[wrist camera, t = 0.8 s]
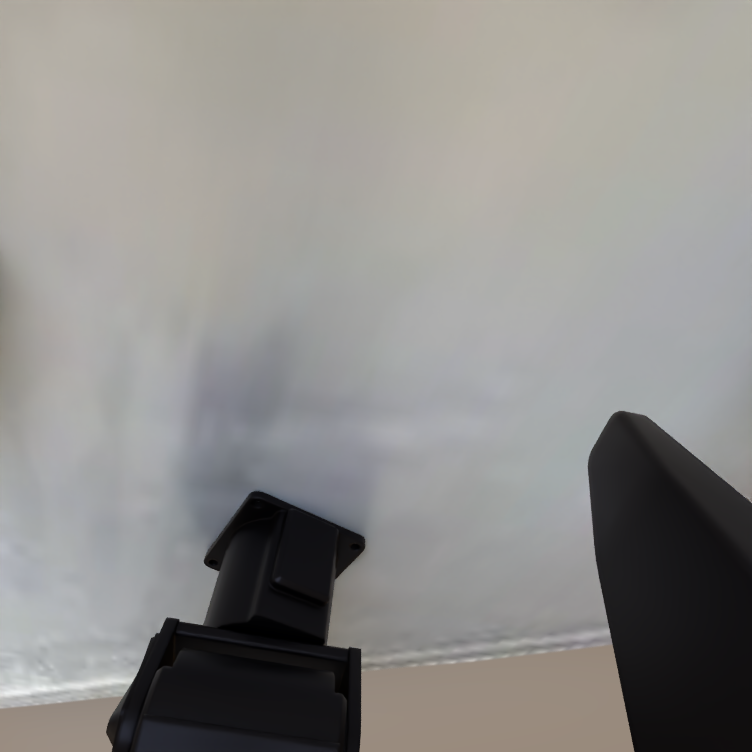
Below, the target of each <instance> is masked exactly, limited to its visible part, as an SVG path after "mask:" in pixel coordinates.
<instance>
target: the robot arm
mask: <svg viewBox="0 0 752 752" xmlns="http://www.w3.org/2000/svg"><path fill="white" fill-rule="evenodd" d="M588 475H589V487H590V499H591V511H592V523H593V535H594V546H595V555H596V562H597V568H598V574H599V579H600V584H601V589H602V594H603V599H604V604H605V609H606V614H607V619H608V623H609V628H610V633H611V638H612V643H613V648H614V653H615V658H616V663H617V668H618V673H619V678H620V683H621V688H622V692H623V698H624V702H625V707H626V712H627V717H628V722H629V727H630V732H631V737H632V742H633V747H634V751H635V752H752V503H751V502H750V501H748V500H747V499H746V498H745V497H744V496H742V495H741V494H740V493H739V492H737V491H736V490H735V489H734V488H733V487H731V486H730V485H729V484H728V483H727V482H725V481H724V480H723V479H722V478H721V477H719V476H718V475H717V474H716V473H715V472H713V471H712V470H711V469H710V468H709V467H707V466H706V465H705V464H704V463H702V462H701V461H700V460H699V459H698V458H696V457H695V456H694V455H693V454H692V453H690V452H689V451H688V450H687V449H686V448H684V447H683V446H682V445H681V444H680V443H678V442H677V441H676V440H675V439H674V438H672V437H671V436H670V435H669V434H667V433H666V432H665V431H664V430H663V429H661V428H660V427H659V426H658V425H657V424H655V423H654V422H653V421H652V420H651V419H649V418H648V417H646V416H644V415H640V414H635V413H630V412H625V411H618V412H616V413H614V414H613V415H612V416H611V418H610V419H609V421H608V422H607V424H606V426H605V428H604V429H603V431H602V433H601V435H600V436H599V438H598V440H597V442H596V444H595V445H594V447H593V449H592V451H591V453H590V456H589V460H588ZM257 501H259V502H257ZM364 549H365V539H364V537H362V536H361V535H359V534H356V533H354V532H352V531H350V530H347V529H345V528H343V527H341V526H338V525H336V524H334V523H331V522H329V521H327V520H325V519H322V518H320V517H318V516H315V515H313V514H311V513H309V512H306V511H304V510H302V509H300V508H297V507H295V506H293V505H290V504H288V503H286V502H284V501H281V500H279V499H277V498H275V497H272V496H270V495H268V494H265V493H263V492H260V491H254V492H251V493H250V494H249V495H248V497H247V498H246V500H245V501H244V502H243V504H242V505H241V506H240V508H239V509H238V511H237V512H236V513H235V515H234V516H233V517H232V519H231V520H230V522H229V523H228V524H227V526H226V527H225V528H224V530H223V531H222V533H221V534H220V535H219V537H218V538H217V539H216V541H215V542H214V544H213V545H212V546H211V548H210V549H209V550H208V552H207V553H206V556H205V559H204V564H205V565H206V566H208V567H210V568H212V569H215V570H217V571H220V572H219V575H218V578H217V582H216V585H215V588H214V591H213V595H212V598H211V601H210V605H209V608H208V611H207V615H206V618H205V621H204V624H203V625H198V624H191V623H185V622H179V619H174V618H168V617H167V618H166V620H165V622H164V625H163V627H162V629H161V631H160V633H156V635H155V637H153V638H151V640H150V643H149V645H148V648H147V651H146V654H145V656H144V659H143V662H142V664H141V667H140V669H139V671H138V673H137V675H136V677H135V679H134V681H133V682H132V684H131V686H130V687H129V689H128V690H127V692H126V693H125V695H124V697H123V698H122V700H121V701H120V703H119V705H118V706H117V708H116V709H115V711H114V712H113V714H112V716H111V718H110V720H109V723H108V726H107V731H106V733H107V735H108V737H109V739H110V741H111V743H112V746H113V748H112V752H359V749H360V736H361V649H358V648H352V647H349V649H345V648H339V647H333V646H327V639H328V630H329V622H330V614H331V606H332V598H333V590H334V582H335V579H336V578H337V577H338V576H339V575H340V574H341V573H342V572H343V571H344V570H345V569H346V568H347V567H348V566H349V565H350V564H351V563H352V562H353V561H354V560H355V559H356V558H357V557H358V556H359V555H360V554H361V553H362V552H363V551H364Z"/></svg>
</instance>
